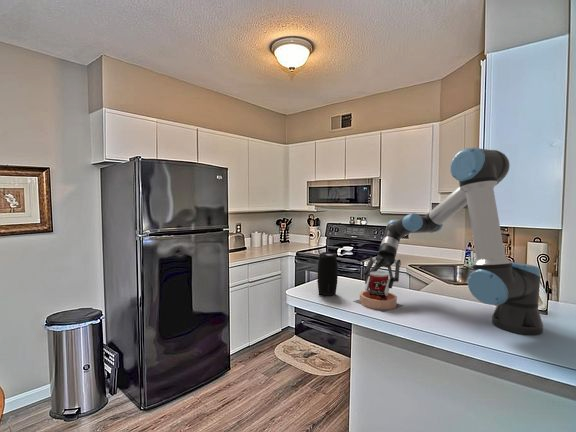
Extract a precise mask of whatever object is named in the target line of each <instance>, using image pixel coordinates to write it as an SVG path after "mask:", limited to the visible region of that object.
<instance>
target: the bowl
mask: <svg viewBox="0 0 576 432" xmlns="http://www.w3.org/2000/svg"><path fill="white" fill-rule="evenodd" d="M359 300H360V303H361V304H362V305H361V304H360V305H361V306H364V307H366V308H370V309H374V310H376V309H380V310H382V309H392V308H395V309H397V308H396V305H397V303H398V296H397V295H396V294H395V293H393V292H388V298H387V300H375V299H370V297H369V291H368V292H366V291H365V290H363V291H361V292H360V293H359ZM392 310H393V309H392Z"/></svg>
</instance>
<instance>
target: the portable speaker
mask: <svg viewBox="0 0 576 432" xmlns="http://www.w3.org/2000/svg"><path fill="white" fill-rule="evenodd" d="M318 255H319V256H318V262H317V281H316V282H317V289H318V291H317V292H318V295H322V297H328V298H329V297H330V298H331V297H333V296H334V295H336V293H337V287H338V274H339V273H338V271H339V270H338V268H339V266H338V258H337V256H338V255H337V253H332V252H330V251H323V252H320V254H318Z"/></svg>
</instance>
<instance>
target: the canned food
mask: <svg viewBox="0 0 576 432" xmlns="http://www.w3.org/2000/svg"><path fill="white" fill-rule="evenodd" d="M389 277H390V276H389V272H385V271H379V270H377V271H374V272H370V284H369V297H370V299H375V300H387V298H388V296H385V293H384V292H385V288H386V284H387V281H388V279H389Z"/></svg>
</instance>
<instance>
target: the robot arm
mask: <svg viewBox="0 0 576 432" xmlns="http://www.w3.org/2000/svg"><path fill="white" fill-rule="evenodd" d="M510 167H511V165H510V161H509V158H508V157H507V155H506V154H505V153H503V152H502V151H500V150H496V149H487V148H486V149H485V148H479V147H466V148H463V149H461V150H460V151H458V152H457V153H456V154H455V155H454V157H453V158H452V160H451V162H450V167H449V169H450V174H451V176H452V178H454V179H455V180H457V181H458V183H459V186H458V187H457V188H455V189H454V191H452V192H451V193H450V194H449V195H447V197H445V198H444V199H443V200H441V202H440V203H439V204H437V205H436V206H435V207H434V208H433V209H432V210H431V211H429V212H428V213H427V214H425V215H424V216H420V214H417V213H416V212H411V213H409V214H406V215H405V216H404V217H402V218H401V219H392V220H391V219H390V220H389V221H388V222H387V225H386V227H385V230H384V234H383V237H382V240H381V243H380V246H379V250H378V254H377V256H375V257H373V256H372V255H371V256H369V260H368V263H367V264H366V266H365V269H364V270H363V272H362V274H363V277H365V280H364V283H365V287H364V291H366V292H368V291H369V284H370V272H374V271H379V269H381V268H387V270H388V275H389V276H388V277H389V278H388V281H387V284H386V288H385V292H384V293H385V296H388V292H389V291H390V289H393V285H394V283H395V282H396V283H398V282H399V281H400V268H401V265H402V262H401V259H396V257H397V256H396V255H397V254H398V253H397V252H398V248H399V246H400V241H401V239H402V238H404V237H406V236H409V235H410V234H422V233H429V234H430V233H435V232H437V233H438V232H439V231H441V229H442V227H443V225H444V224H445V223H446V222H447V221H448V220H449V219H451V218H452V217H453V216H454V215H456V214H457V213H458V212H460V210H462V209H464V208H465V207H466V206H467V209H468V210H467V211H468V216H469V222H470V228H471V229H470V230H471V235H472V241H473V248H474V253H475V254H474V255H475V260H474V261H473V263H471V264H472V265H471V266H472V267H471V268H472V272H471V273H470V274H469V276H468V277H467V287H468V289H469V291H470V293H471V295H472V296H473V297H474V298H475V299H476V300H477V301H479V302H480V303H483V304H486V305H492V304H498V305H497V306H496V307H495V309H494V311H493V314H492V315H491V316H492V317H491V322H492V325H494V326H495V327H497V328H499V329H502V330H503V331H507V332H511V333H515V334H520V335H525V336H526V335H527V336H528V335H530V336H537V335H541V334H543V333H544V323H543V320H542V317H541V314H540V310H539V299H540V288H541V287H540V286H541V278H542V276H541V269H540V268H539V266H536V265H533V264H526V263H521V262H514V261H511V260H510V259H508V258H507V257H506V253H505V248H504V241H503V236H502V231H501V225H500V219H499V213H498V206H497V202H496V201H497V200H496V195H495V190H494V188H495V187H496V186H497V185H498V184H500V182H502V181H503V180H504V178H506V177H507V175H508V174H509V171H510ZM393 264H395V270H394V275H393V270H392V265H393ZM389 293H390V292H389Z"/></svg>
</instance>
